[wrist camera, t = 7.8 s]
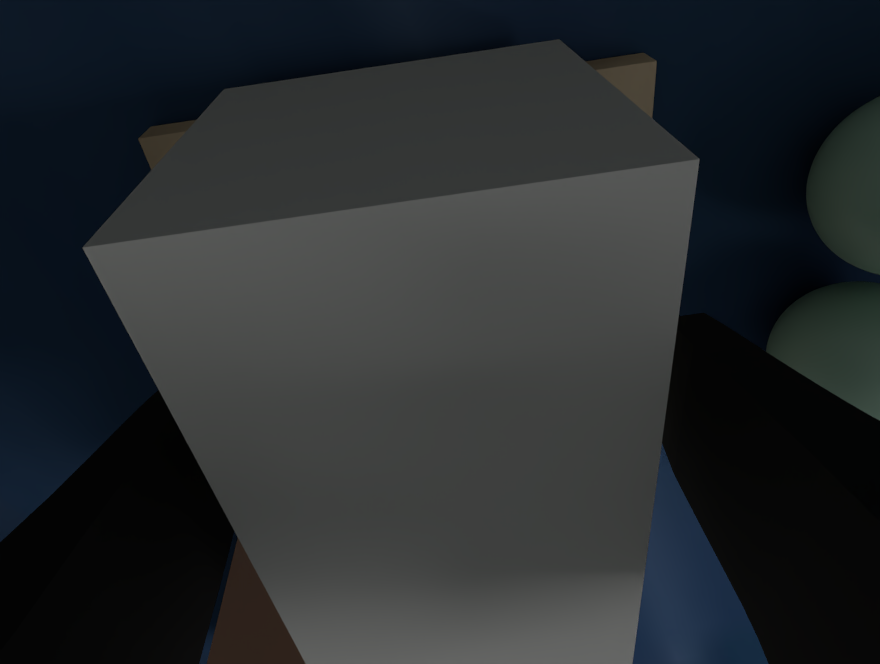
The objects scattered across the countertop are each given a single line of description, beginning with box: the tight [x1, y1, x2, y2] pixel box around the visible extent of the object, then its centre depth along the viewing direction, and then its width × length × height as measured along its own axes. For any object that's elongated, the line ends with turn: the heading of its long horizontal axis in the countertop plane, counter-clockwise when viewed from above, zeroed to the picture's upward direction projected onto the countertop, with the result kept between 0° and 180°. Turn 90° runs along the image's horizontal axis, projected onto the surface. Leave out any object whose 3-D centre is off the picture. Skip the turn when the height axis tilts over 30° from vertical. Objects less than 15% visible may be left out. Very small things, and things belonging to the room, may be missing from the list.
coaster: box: [138, 53, 657, 170], centre depth 12 cm, size 8×8×1 cm
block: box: [82, 39, 700, 664], centre depth 9 cm, size 9×5×5 cm, turn 7°
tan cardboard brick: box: [207, 539, 306, 664], centre depth 15 cm, size 9×5×5 cm, turn 97°
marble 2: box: [766, 281, 880, 421], centre depth 12 cm, size 3×3×3 cm
